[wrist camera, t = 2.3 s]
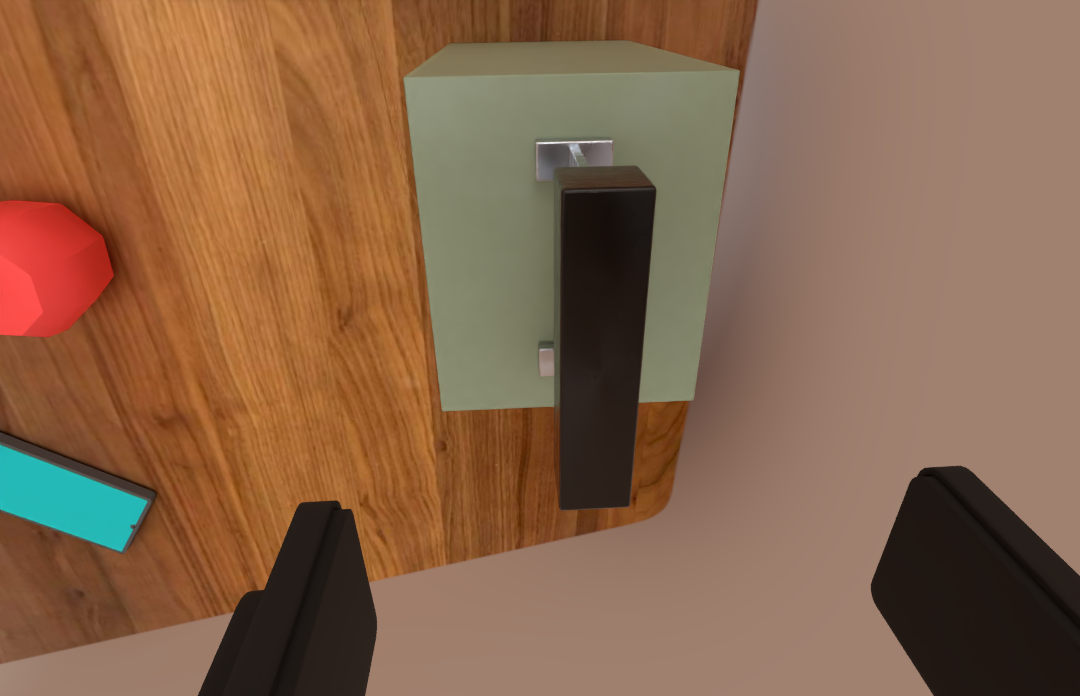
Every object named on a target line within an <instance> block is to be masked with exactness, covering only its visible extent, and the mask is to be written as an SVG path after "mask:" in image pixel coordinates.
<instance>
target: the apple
mask: <svg viewBox="0 0 1080 696" xmlns="http://www.w3.org/2000/svg"><path fill="white" fill-rule="evenodd" d="M113 276H114V274H113V271H112V267H111V263H110V260H109V256H108V253H107V249H106V245H105V242H104V238H103V236H102V235H101V234H100V233H98V232H97V231H96V230H95V229H93V228H92V227H91V226H89V225H88V224H87V223H86V222H84V221H83V220H82V219H80V218H79V217H78V216H76V215H75V214H74V213H73V212H71V211H70V210H69V209H67V208H66V207H65V206H64V205H62V204H59V203H46V202H32V201H18V200H10V201H1V202H0V335H17V336H36V337H50V336H53V335H55V334H58V333H60V332H63V331H65V330H68V329H69V328H70V327H71V326H72V325H73V324H74V323H75V322H76V321H77V320H78V319H79V317H80V316H81V315H82V314H83V313H84V312H85V311H86V310H87V309H88V308H89V307H90V306H91V305H92V304H93V303H94V302H95V301H96V299H97V298H98V297H99V296H100V294H101V293H102V291H103V290H104V289H105V287H106V286H107V285H108V283H109V282H110V281H111V279H112V278H113Z"/></svg>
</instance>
